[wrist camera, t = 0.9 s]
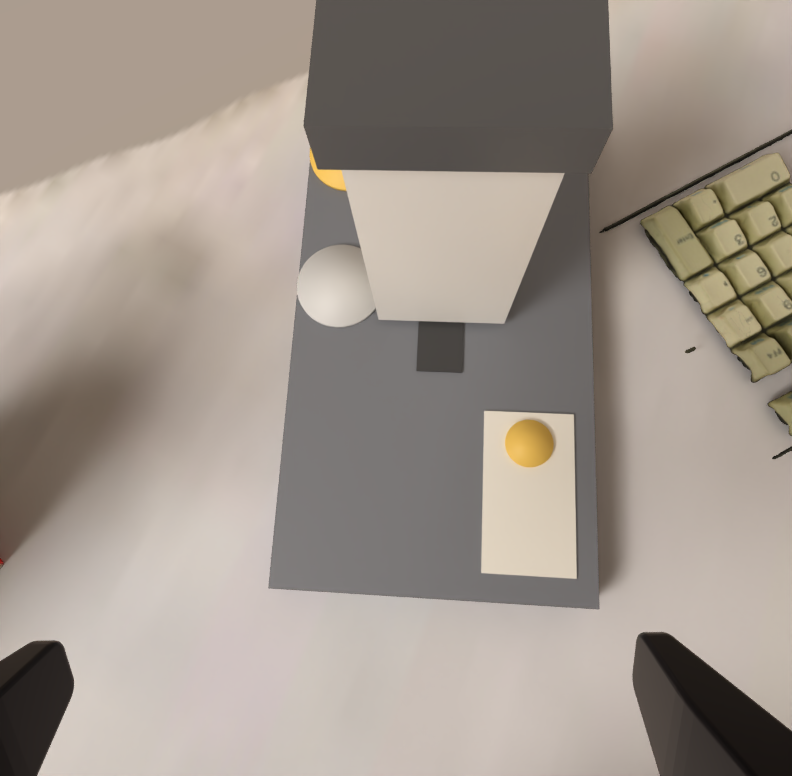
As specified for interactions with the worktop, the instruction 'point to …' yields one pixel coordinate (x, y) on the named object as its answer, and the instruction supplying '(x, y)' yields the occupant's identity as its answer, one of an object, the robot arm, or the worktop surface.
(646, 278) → the worktop surface
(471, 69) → the lever
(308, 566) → the switch panel
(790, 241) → the keyboard
